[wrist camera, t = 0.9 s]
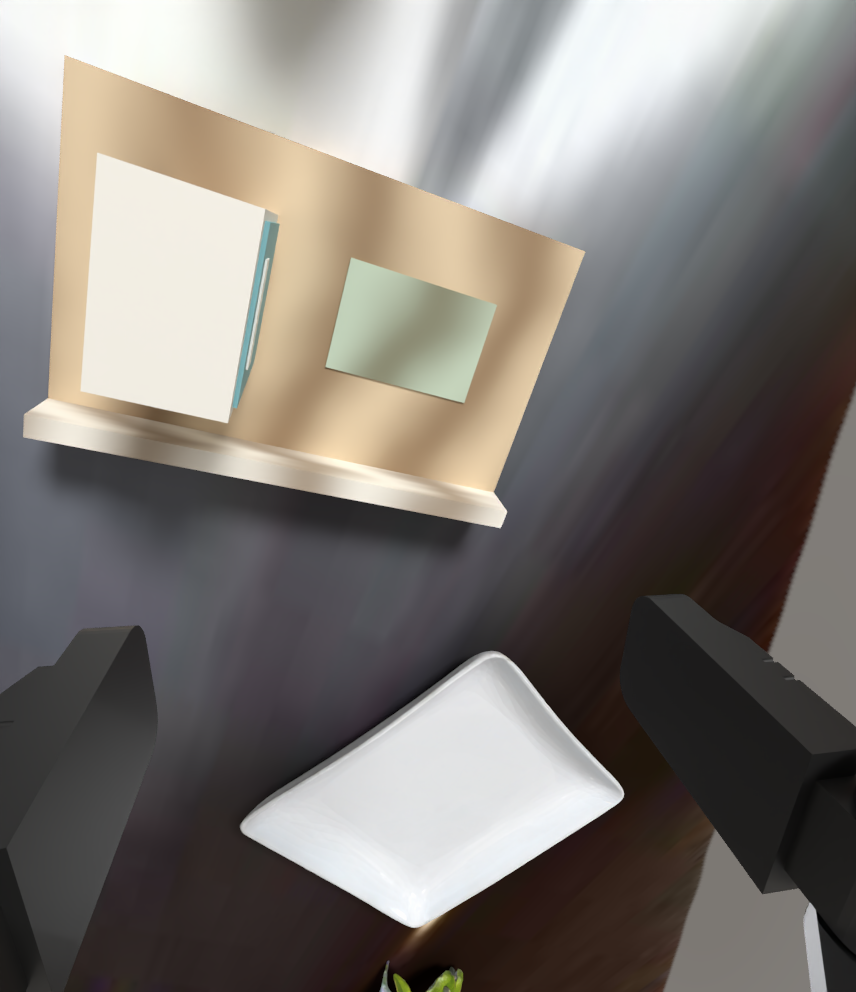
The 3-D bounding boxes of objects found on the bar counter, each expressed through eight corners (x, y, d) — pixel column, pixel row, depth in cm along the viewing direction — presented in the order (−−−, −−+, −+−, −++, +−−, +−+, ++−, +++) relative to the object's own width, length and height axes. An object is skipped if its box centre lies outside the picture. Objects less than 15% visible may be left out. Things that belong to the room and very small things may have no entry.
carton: (256, 364, 26) (235, 425, 18) (153, 337, 24) (80, 391, 16) (283, 216, 23) (273, 211, 15) (171, 179, 22) (97, 152, 14)
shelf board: (55, 414, 26) (23, 439, 23) (74, 62, 21) (35, 34, 18) (482, 501, 32) (500, 529, 30) (575, 250, 27) (609, 253, 24)
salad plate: (612, 764, 46) (634, 801, 43) (408, 893, 49) (416, 937, 46) (484, 614, 37) (500, 649, 34) (236, 784, 39) (230, 831, 36)
